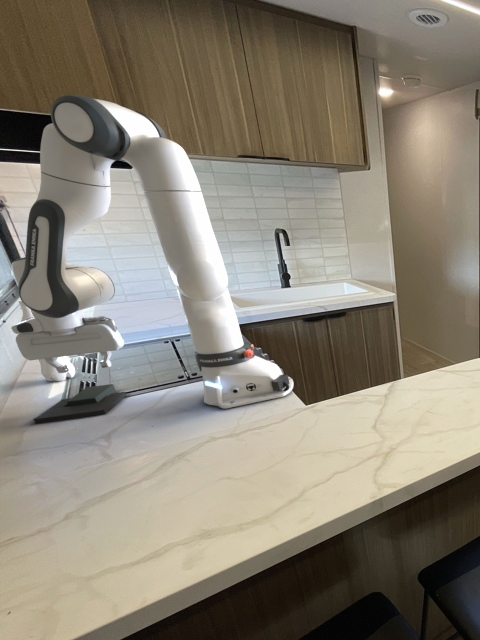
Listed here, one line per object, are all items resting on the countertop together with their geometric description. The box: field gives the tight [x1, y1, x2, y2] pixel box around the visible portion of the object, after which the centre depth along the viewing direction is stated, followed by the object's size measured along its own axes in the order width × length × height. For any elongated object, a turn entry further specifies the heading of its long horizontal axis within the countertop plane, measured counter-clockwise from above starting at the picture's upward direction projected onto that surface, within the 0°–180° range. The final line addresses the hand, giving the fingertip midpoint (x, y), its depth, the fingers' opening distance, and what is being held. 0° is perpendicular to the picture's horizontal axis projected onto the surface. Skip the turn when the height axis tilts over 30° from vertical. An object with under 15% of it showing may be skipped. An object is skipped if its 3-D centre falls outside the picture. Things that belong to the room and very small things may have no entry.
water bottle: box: [18, 299, 76, 382], centre depth 122 cm, size 7×7×25 cm
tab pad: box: [67, 383, 117, 406], centre depth 112 cm, size 6×10×2 cm, turn 21°
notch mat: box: [33, 391, 127, 424], centre depth 107 cm, size 14×12×1 cm
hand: (85, 369), depth 109 cm, fingers open, 8 cm apart
